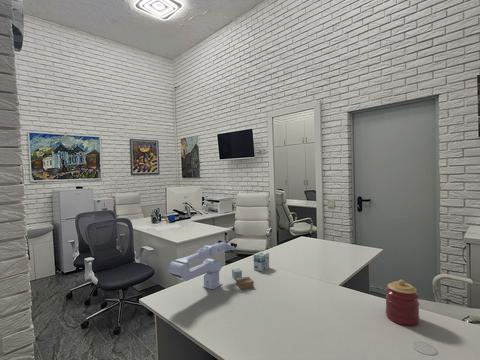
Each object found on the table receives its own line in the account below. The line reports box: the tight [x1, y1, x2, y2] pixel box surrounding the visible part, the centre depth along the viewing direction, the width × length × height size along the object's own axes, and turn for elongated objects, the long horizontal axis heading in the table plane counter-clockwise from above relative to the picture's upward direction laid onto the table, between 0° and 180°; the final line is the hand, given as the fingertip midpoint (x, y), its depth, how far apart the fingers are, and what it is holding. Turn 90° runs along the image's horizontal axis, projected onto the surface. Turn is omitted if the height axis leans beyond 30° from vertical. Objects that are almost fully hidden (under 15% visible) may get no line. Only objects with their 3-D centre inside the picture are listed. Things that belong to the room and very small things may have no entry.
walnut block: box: [235, 276, 255, 290], centre depth 158 cm, size 8×8×4 cm
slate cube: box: [231, 268, 243, 280], centre depth 171 cm, size 5×5×5 cm
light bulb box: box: [253, 250, 270, 272], centre depth 187 cm, size 11×7×11 cm, turn 143°
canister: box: [385, 279, 420, 327], centre depth 119 cm, size 13×13×18 cm
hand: (231, 244), depth 176 cm, fingers open, 7 cm apart
